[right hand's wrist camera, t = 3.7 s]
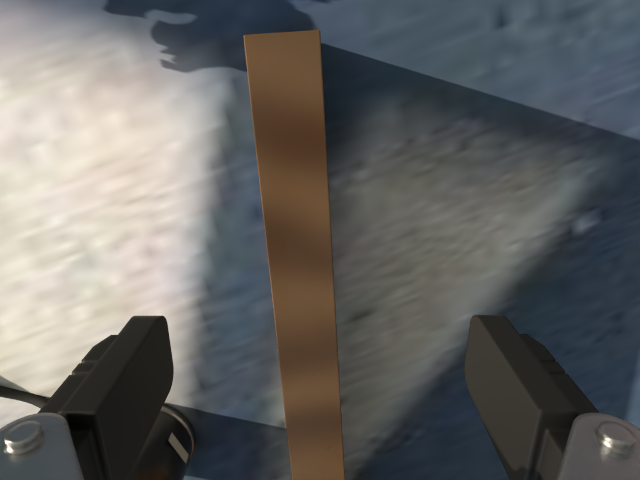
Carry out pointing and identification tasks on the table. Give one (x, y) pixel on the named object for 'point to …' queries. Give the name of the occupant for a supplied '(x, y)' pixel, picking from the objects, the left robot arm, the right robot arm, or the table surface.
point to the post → (298, 241)
